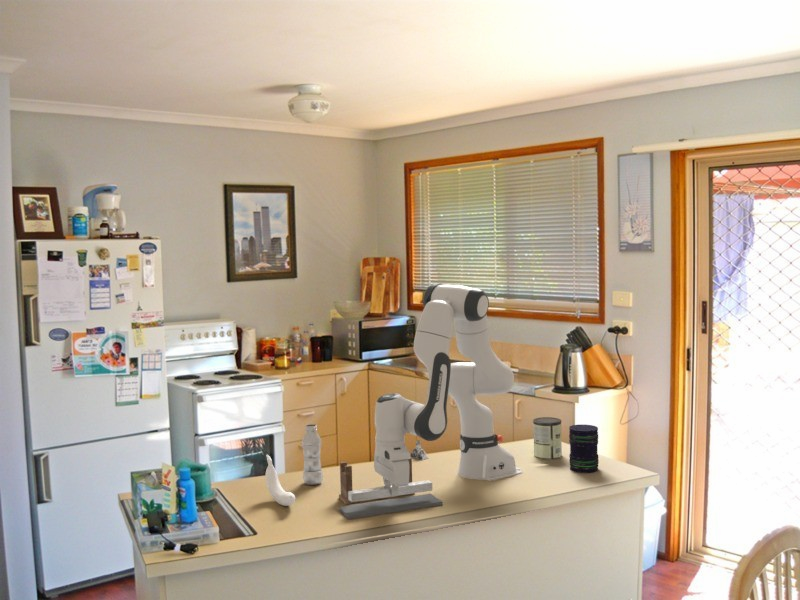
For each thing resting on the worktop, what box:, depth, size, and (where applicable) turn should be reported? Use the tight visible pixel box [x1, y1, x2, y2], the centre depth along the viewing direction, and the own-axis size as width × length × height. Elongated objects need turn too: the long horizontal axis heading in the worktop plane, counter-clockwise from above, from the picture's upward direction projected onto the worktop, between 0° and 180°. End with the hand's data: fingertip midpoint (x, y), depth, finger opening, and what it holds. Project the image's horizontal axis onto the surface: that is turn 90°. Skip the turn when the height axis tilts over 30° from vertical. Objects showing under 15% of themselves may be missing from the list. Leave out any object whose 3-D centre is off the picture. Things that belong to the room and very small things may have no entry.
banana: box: [265, 454, 296, 507], centre depth 244 cm, size 5×19×15 cm, turn 35°
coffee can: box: [532, 416, 563, 461], centre depth 292 cm, size 10×10×14 cm
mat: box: [338, 493, 444, 520], centre depth 239 cm, size 30×9×1 cm, turn 112°
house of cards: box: [410, 439, 429, 461], centre depth 295 cm, size 9×9×8 cm
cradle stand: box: [338, 457, 416, 505], centre depth 251 cm, size 23×7×12 cm, turn 112°
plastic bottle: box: [301, 423, 324, 486], centre depth 265 cm, size 6×7×20 cm
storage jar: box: [568, 424, 599, 474], centre depth 275 cm, size 10×10×15 cm
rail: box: [348, 479, 433, 502], centre depth 239 cm, size 26×3×2 cm, turn 112°
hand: (391, 493), depth 239 cm, fingers closed on rail, 3 cm apart
